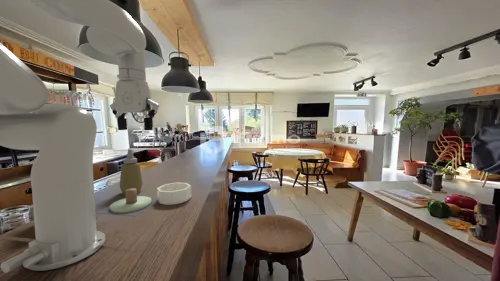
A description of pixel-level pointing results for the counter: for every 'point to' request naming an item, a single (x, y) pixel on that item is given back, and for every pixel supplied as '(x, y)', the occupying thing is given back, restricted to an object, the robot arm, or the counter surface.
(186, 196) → the bowl
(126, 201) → the lid
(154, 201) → the mat
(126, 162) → the squeeze bottle
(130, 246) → the counter surface
